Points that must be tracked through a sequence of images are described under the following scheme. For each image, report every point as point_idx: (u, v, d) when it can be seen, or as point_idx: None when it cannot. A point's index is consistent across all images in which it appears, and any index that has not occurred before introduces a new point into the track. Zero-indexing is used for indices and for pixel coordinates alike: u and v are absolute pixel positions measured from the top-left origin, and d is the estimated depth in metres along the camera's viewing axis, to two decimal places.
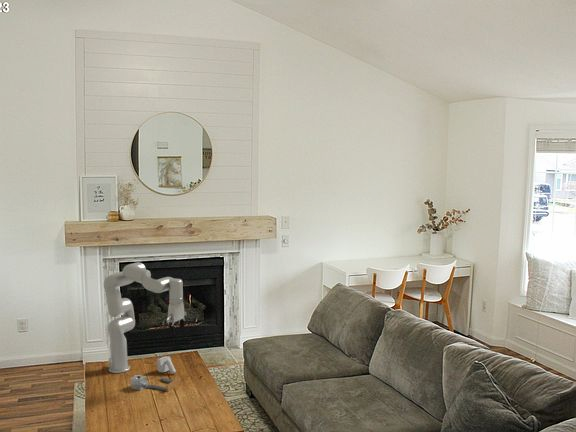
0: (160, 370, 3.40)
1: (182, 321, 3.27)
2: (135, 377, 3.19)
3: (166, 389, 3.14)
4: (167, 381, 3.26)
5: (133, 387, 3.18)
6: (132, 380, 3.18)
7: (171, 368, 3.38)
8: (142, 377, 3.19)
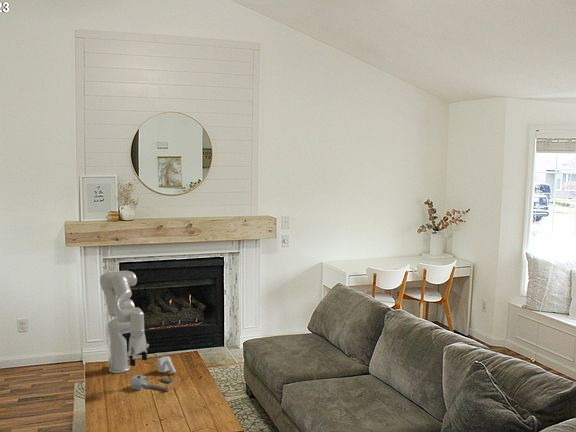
0: (160, 370, 3.40)
1: (144, 353, 3.22)
2: (135, 377, 3.19)
3: (166, 389, 3.14)
4: (167, 381, 3.26)
5: (133, 387, 3.18)
6: (132, 380, 3.18)
7: (171, 368, 3.38)
8: (142, 377, 3.19)
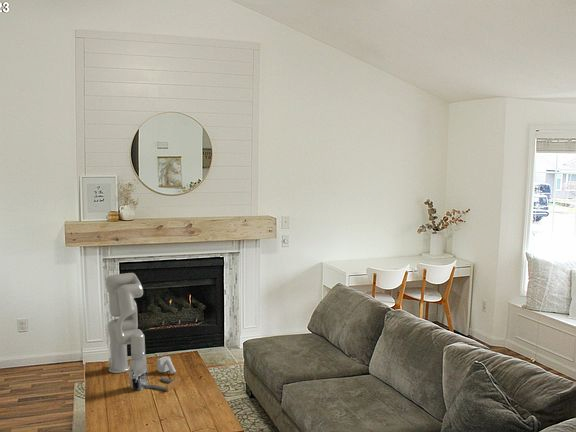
0: (160, 370, 3.40)
1: None
2: None
3: (166, 389, 3.14)
4: (167, 381, 3.26)
5: None
6: None
7: (171, 368, 3.38)
8: (142, 377, 3.19)
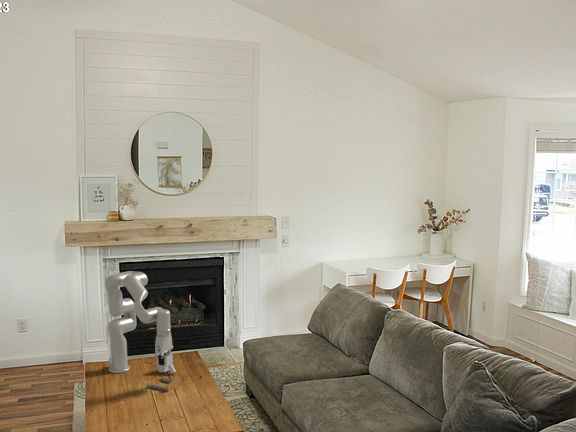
0: (160, 370, 3.40)
1: None
2: None
3: (166, 389, 3.14)
4: (167, 381, 3.26)
5: None
6: None
7: (171, 368, 3.38)
8: (168, 354, 3.20)
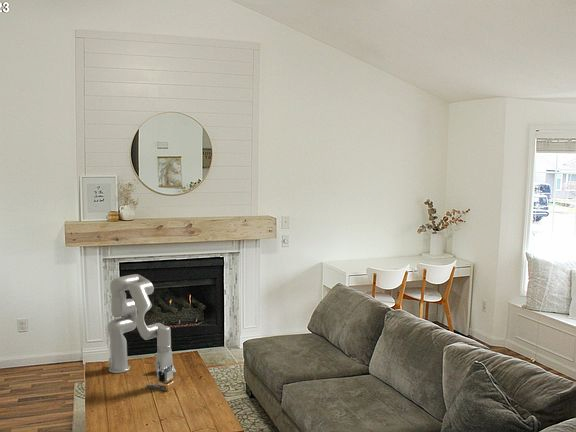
0: None
1: None
2: (161, 370, 3.21)
3: (166, 389, 3.14)
4: None
5: None
6: None
7: None
8: (168, 370, 3.21)
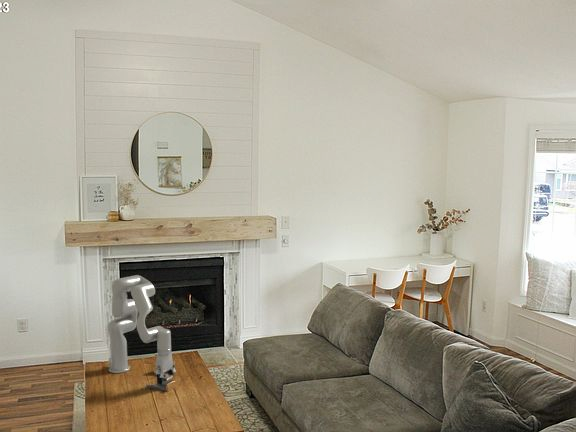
0: None
1: (170, 371, 3.25)
2: None
3: (166, 389, 3.14)
4: None
5: (159, 385, 3.20)
6: None
7: None
8: (168, 375, 3.21)
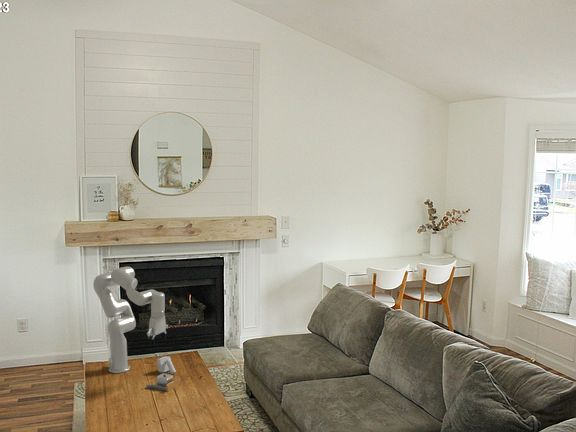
0: (160, 370, 3.40)
1: (163, 334, 3.31)
2: (161, 375, 3.21)
3: (166, 389, 3.14)
4: None
5: (159, 385, 3.20)
6: (158, 378, 3.20)
7: (171, 368, 3.38)
8: (168, 375, 3.21)
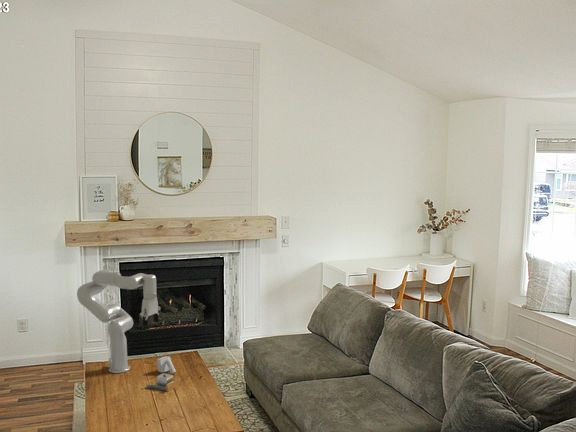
0: (160, 370, 3.40)
1: (156, 315, 3.41)
2: (161, 375, 3.21)
3: (166, 389, 3.14)
4: None
5: (159, 385, 3.20)
6: (158, 378, 3.20)
7: (171, 368, 3.38)
8: (168, 375, 3.21)
